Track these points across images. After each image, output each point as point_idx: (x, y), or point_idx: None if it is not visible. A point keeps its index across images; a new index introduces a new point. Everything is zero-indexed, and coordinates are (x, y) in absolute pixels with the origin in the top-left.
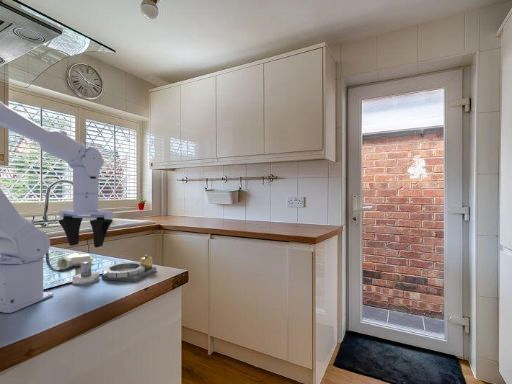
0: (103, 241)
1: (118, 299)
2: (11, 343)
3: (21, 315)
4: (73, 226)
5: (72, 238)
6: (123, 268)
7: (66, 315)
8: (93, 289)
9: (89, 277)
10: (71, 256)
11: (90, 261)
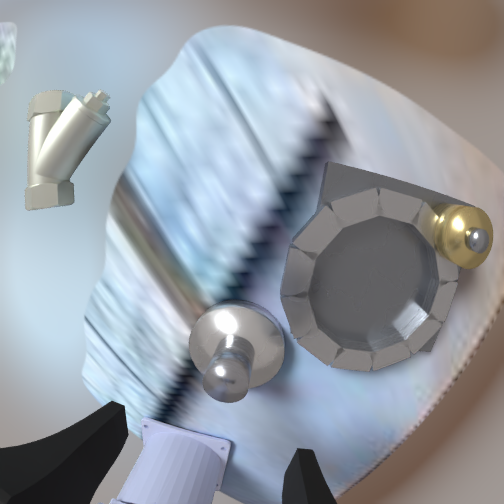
0: (319, 468)
1: (401, 441)
2: None
3: (243, 491)
4: (68, 501)
5: (109, 457)
6: (348, 237)
7: None
8: (313, 407)
9: (262, 370)
10: (41, 169)
11: (235, 372)
